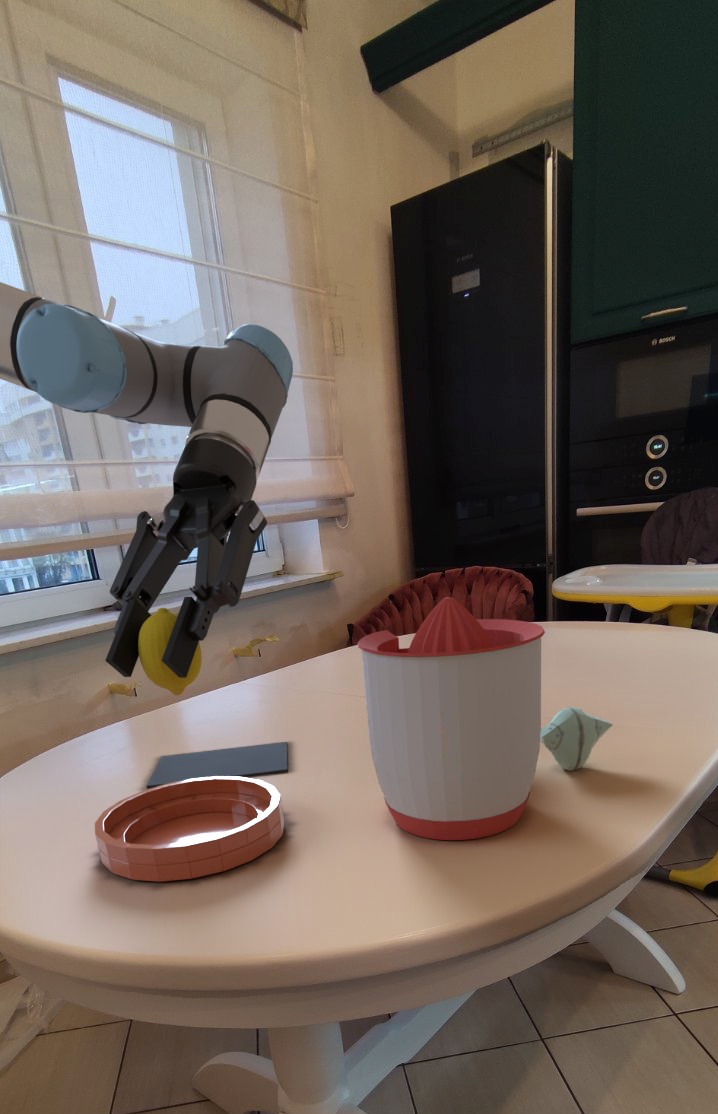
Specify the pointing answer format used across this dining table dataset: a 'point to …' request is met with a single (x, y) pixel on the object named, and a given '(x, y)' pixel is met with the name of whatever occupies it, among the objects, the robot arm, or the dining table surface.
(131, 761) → the dining table surface
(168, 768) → the mat
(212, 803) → the bowl
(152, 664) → the lemon
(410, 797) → the citrus juicer
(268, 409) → the robot arm
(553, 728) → the pale green angular piece
